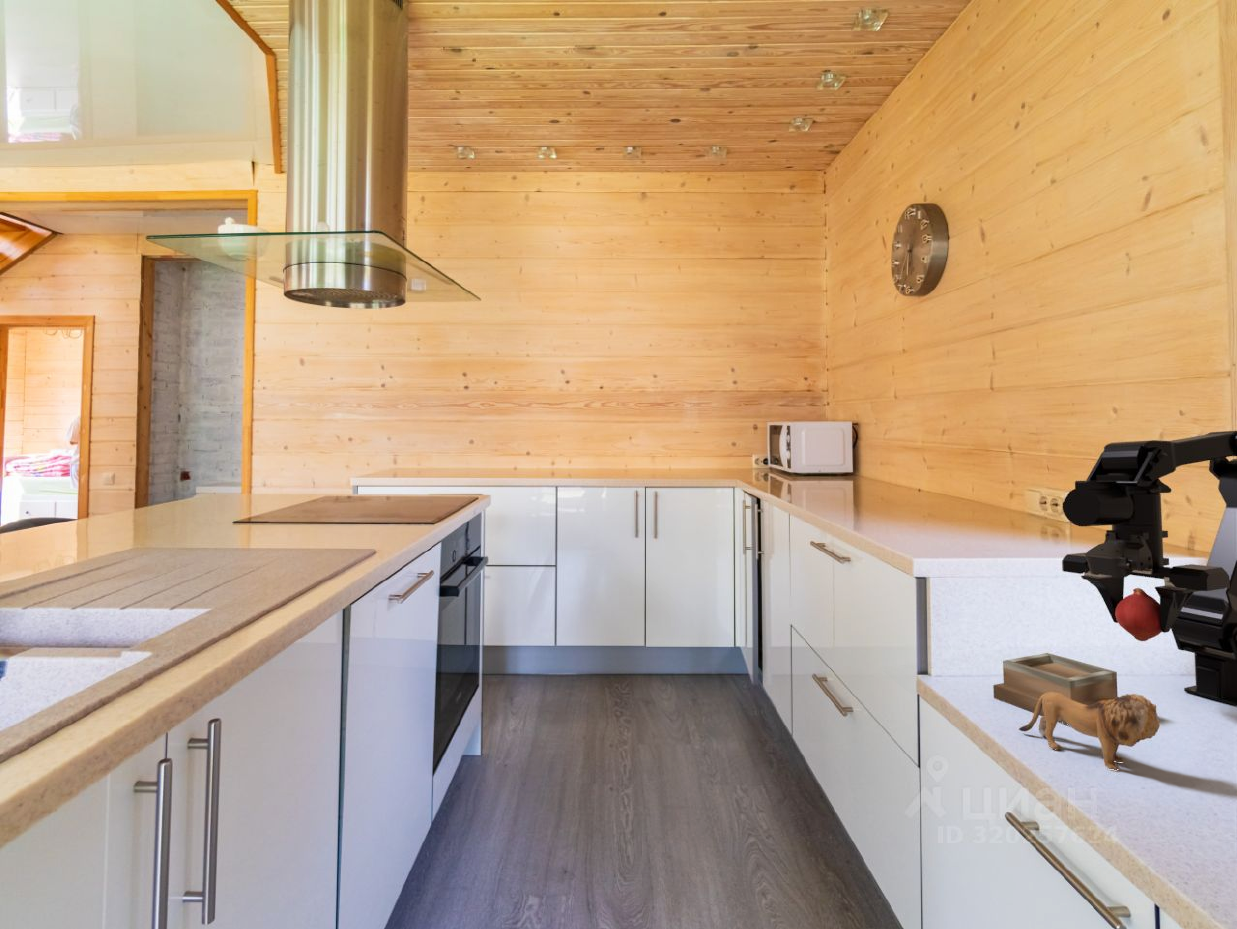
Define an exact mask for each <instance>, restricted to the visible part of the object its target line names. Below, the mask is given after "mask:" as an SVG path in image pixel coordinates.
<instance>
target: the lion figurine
mask: <svg viewBox="0 0 1237 929" xmlns="http://www.w3.org/2000/svg"><path fill="white" fill-rule="evenodd" d="M1118 697H1119V698H1115V699H1113V700H1112V699H1111V700H1106V701H1105V700H1102V701H1098V702H1096V703H1094V704H1092V705H1085V704H1081V703H1078V702H1076V701H1074V700H1072V699H1070V698H1068V697H1067V696H1065V695H1063V694H1060V693H1053V692H1049V693H1045V694H1043V695H1042V696H1041V697H1040V698H1039V700H1038V702H1037V705H1036V708H1035V712H1034V713H1033V715H1032V718H1031V720H1030V722H1029V723H1028V724H1026V725H1023V726H1021V727H1019V728H1018V730H1019V731H1022V732H1028V731H1030V730H1032V728H1033V727H1034V725H1035V724H1036V722H1037V720H1038V718H1039V716H1040V715H1039V713H1040V711H1041V709H1042V706H1043V713H1044V716H1041V717H1040V719H1039V725H1038V732H1039V734H1040V735H1042V736H1043V737H1046V740H1047V743H1048V744H1047V745H1048V747H1049V748H1050V749H1051V748H1052V750H1053V749H1056V750H1055V751H1059V750H1058V749H1060V750H1061V749H1062V746H1061V745H1060V744H1058V743H1057V742H1056V741H1055V739H1054V731H1055V729H1056V727H1057V724H1058V723H1060V722H1059V721H1061V720H1062V719H1063V720H1065V721H1066V722H1067V723H1068V724H1069V725H1070V726H1071V728H1072V729H1074V730H1075V731H1076V732H1078V733H1080V734H1082V735H1085V736H1089V737H1094V738H1097V740H1099V743H1100V745H1101V746H1100V747H1101V751H1102V756H1103V763H1104V765H1105V767H1106V766H1107V767H1108V768H1109V769H1114V770H1117V769H1119V770H1120V766H1119V765H1116V763H1115V762H1114V761H1116V762H1123V763H1124V762H1125V761H1124V759H1123V758H1122V757H1121V756H1118V755H1117V754H1118V753H1117V752H1118V749H1119V746H1125V747H1131V748H1132V747H1134V746H1135V745H1137V743H1140V741H1144V740H1148V739H1151V738H1153V737H1155V736H1156V734H1157V732H1159V729H1160V721H1159V717H1158V713H1157V705H1156V704H1154V703H1152V701H1151V700H1150V699H1147V697H1145V696H1144V695H1139V694H1137V693H1136V694H1135V693H1132V694H1130V693H1128V694H1123V695H1121V696H1118ZM1070 726H1069V727H1070ZM1107 767H1106V768H1107ZM1108 768H1107V769H1108ZM1109 769H1108V770H1109Z"/></svg>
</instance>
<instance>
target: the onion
mask: <svg viewBox="0 0 1237 929" xmlns="http://www.w3.org/2000/svg"><path fill="white" fill-rule="evenodd" d="M1132 591H1133V593H1132V594H1129V595H1127V596H1125V597H1123V600H1122V601H1120V602H1119V604H1118V605H1117V607H1116V611H1115V616H1116V620H1117V621H1118V623H1117V624H1118V625H1119V626H1120V627H1121V628H1122V629H1123V630H1125V631H1126V632H1127V633H1128V634H1130V635H1131V636H1133V638H1134V639H1136V640H1137V641H1138V642H1146V641H1148V640H1151V639H1152V638H1155V637H1157V636H1159V634H1161V633H1163V632H1162V631H1161V626H1160V602H1158V601H1157V600H1156V599H1155V598H1153V597H1152V596H1151V595H1149V594H1148V593H1147V592H1145V590H1144V589H1142V588H1140V587H1136V588H1134V589H1133V590H1132Z"/></svg>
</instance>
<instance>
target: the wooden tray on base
mask: <svg viewBox="0 0 1237 929" xmlns="http://www.w3.org/2000/svg"><path fill="white" fill-rule="evenodd" d="M1002 667H1003V668H1002V671H1003V673H1002V674H1003V683H998V684H996V683H995V684H993V686H992V687H993V689H992V690H993V698H994V699H996V700H999V701H1002V702H1004V703H1007V704H1010V705H1013V706H1015V707H1017V708H1019V709H1022V710H1025V711H1028V712H1031V713H1033V714H1034V712H1035V708H1036V705H1037V702H1038V700H1039V698H1040V697H1041V696H1042V695H1043V694H1045V693H1049V692H1053V693H1060V694H1063V695H1065V696H1067V697H1068V698H1070V699H1072V700H1074V701H1076V702H1078V703H1081V704H1085V705H1092V704H1094V703H1096V702H1098V701H1102V700H1105V701H1106V700H1111V699H1112V700H1113V699H1115V698H1119V697H1120V696H1118V694H1119V693H1118V678H1117V677H1118V675H1117V674H1118V672H1117V671H1115V670H1112V669H1107V668H1105V667H1104V668H1103V667H1101V666H1097V665H1093V664H1089V663H1085V662H1081V661H1078V660H1074V659H1071V658H1068V657H1064V656H1061V655H1060V656H1059V655H1056V654H1052V653H1050V652H1044V653H1039V654H1034V655H1029V656H1021V657H1017V658H1011V659H1004V660H1003V661H1002ZM1039 716H1041V717H1043V716H1044V713H1043V706H1042V709H1041V711H1040V713H1039ZM1060 722H1063V723H1065V724H1068V723H1067V722H1066V721H1065V720H1063V719H1062V720H1061V721H1060ZM1060 722H1059V723H1060ZM1065 724H1064V725H1065ZM1068 725H1069V724H1068ZM1068 725H1067V726H1068Z"/></svg>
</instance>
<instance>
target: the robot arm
mask: <svg viewBox="0 0 1237 929" xmlns="http://www.w3.org/2000/svg"><path fill="white" fill-rule="evenodd" d="M1230 457H1237V430H1228V431H1227V430H1226V431H1212V432H1209V433H1206V434H1200V435H1196V436H1191V437H1185V438H1184V437H1183V438H1179V439H1172V440H1159V439H1158V440H1157V439H1156V440H1139V441H1138V440H1136V441H1117V442H1110V443H1107V444H1106V445H1105V446H1104V447H1103V451H1102V452H1101V453H1100V455H1099V457H1098V458H1097V460H1096V462H1095V463H1094V466H1093V468H1092V469H1091V471H1090V472H1089V475H1088V476H1087V478H1086V479H1085V480H1075V481H1074V488H1073V489H1072V490H1070V491H1069V492H1068V493H1067V494H1066V496H1065V498H1064V500H1063V502H1062V511H1063V514H1064V516H1065V517H1066V519H1067V520H1068V522H1070V523H1071V524H1073V525H1075V526H1077V527H1083V528H1084V527H1099V526H1100V527H1101V526H1103V527H1104V526H1111V529H1107V530H1106V533H1105V536H1104V537H1105V539H1104V542H1103V543H1099V544H1097V545H1096V546H1094V547H1093V548H1091V549H1089V550H1088V551H1086V552H1078V553H1077V552H1076V553H1068V554H1066V555H1065V556H1064V557H1063V559H1062V561H1061V569H1062V572H1065V573H1073V574H1078V575H1080V577H1081V578H1082V580H1086V581H1088V582H1089V583H1090V584H1091V585H1093V586H1094V587H1095V588H1096V590H1097V591H1098V593H1099V595H1100V596H1101V598H1102V599H1103V602H1104V604H1105V606H1106V609H1107V610H1108V612H1109V615H1110V616H1111V619H1112V621H1113V622H1114V623H1116V624H1119V623H1118V621H1117V620H1116V616H1115V611H1116V607H1117V605H1118V604H1119V602H1120V601H1122V600H1123V599H1124V589H1125V578H1127V577H1128V576H1136V577H1143V578H1144V577H1145V578H1153V579H1157V580H1158V579H1159V580H1163V581H1164V585H1160V586H1154V589H1155V591H1156V593H1157V594H1158V596H1159V604H1160V626H1161V631H1162V632H1161V633H1165V634H1166V633H1169V632H1170V630H1171V632H1172V635H1173V638H1174V641H1175V644H1176V647H1177V650H1178V651H1184V652H1190V653H1193V654H1194V671H1195V672H1194V674H1195V678H1194V679H1195V685H1191V686H1187V687H1184V688H1183V689H1184V690H1183V691H1184V692H1186V693H1189V694H1192V695H1196V696H1200V697H1202V698H1203V697H1204V698H1206V699H1211V700H1215V701H1218V702H1223V703H1226V704H1229V705H1232V706H1237V458H1233V459H1231V460H1229V458H1230ZM1206 461H1207V462H1208V461H1209V463H1208V464H1209V466H1208V471H1209V473H1210V474H1211V475H1213V476H1214V477H1215V478H1216V479H1217V480H1218V481H1219V482H1218V485H1217V486H1218V487H1217V489H1218V492H1219V493H1220V495H1221V497H1222V499H1223V501H1224V503H1225V510H1224V512H1223V514H1222V519H1221V521H1220V524H1219V527H1218V530H1217V532H1216V533H1217V534H1216V536H1215V539H1214V542H1213V545H1212V548H1211V550H1210V554H1209V557H1208V560H1207V562H1206V565H1203V564H1194V563H1193V564H1192V563H1190V564H1185V565H1183V564H1182V565H1175V566H1171V567H1168V566H1169V565H1170V558H1169V557H1164V545H1163V544H1164V542H1163V539H1164V538H1165V539H1166V538H1167V539H1168V538H1169V531H1168V530H1163V520H1162V518H1163V516H1162V494H1171V492H1172V488H1171V487H1170V486H1169V485H1167V484H1166V483H1164V482H1162V481H1161V480H1160V478H1163V477H1166V476H1168V475H1169V474H1173V473H1174V472H1175V471H1177V468H1178V467H1181V466H1185V465H1191V464H1195V463H1200V462H1206ZM1081 574H1083V575H1081Z"/></svg>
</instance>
